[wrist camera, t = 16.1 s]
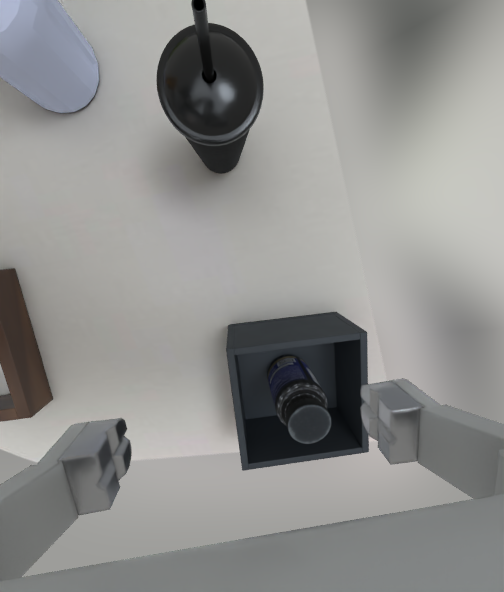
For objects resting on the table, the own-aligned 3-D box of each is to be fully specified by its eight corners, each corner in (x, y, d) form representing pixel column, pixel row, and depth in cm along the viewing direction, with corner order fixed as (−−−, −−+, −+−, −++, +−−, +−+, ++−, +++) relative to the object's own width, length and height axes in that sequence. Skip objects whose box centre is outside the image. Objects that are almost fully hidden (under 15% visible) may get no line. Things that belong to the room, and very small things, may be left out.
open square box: (240, 421, 39) (242, 470, 31) (228, 324, 36) (226, 349, 28) (339, 407, 40) (368, 452, 31) (336, 311, 37) (367, 331, 28)
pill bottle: (261, 386, 37) (272, 443, 27) (274, 348, 36) (291, 392, 26) (300, 395, 38) (326, 455, 27) (314, 359, 37) (347, 406, 26)
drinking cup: (233, 196, 33) (233, 125, 13) (178, 165, 32) (89, 37, 12) (262, 139, 32) (307, -29, 12) (206, 105, 31) (156, -144, 11)
